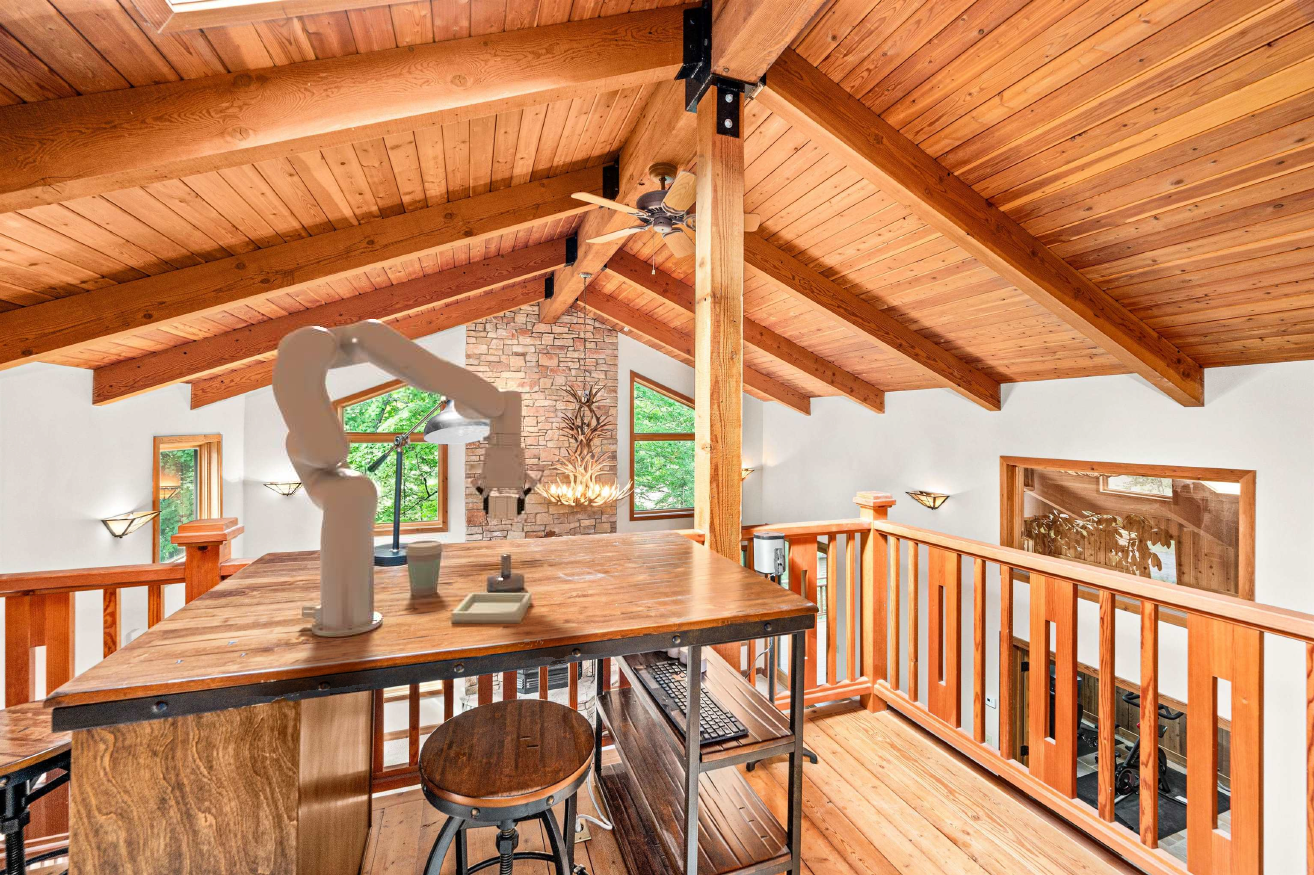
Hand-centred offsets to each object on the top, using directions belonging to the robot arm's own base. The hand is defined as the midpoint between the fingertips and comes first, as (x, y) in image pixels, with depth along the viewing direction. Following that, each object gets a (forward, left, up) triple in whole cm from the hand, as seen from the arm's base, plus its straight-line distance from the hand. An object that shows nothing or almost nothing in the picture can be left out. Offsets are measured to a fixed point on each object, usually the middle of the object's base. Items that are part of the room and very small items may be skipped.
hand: (503, 513), depth 140 cm
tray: (+1, -14, -19) cm, 24 cm away
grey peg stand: (0, +3, -19) cm, 20 cm away
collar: (0, 0, -1) cm, 1 cm away
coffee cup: (-19, 0, -20) cm, 27 cm away
